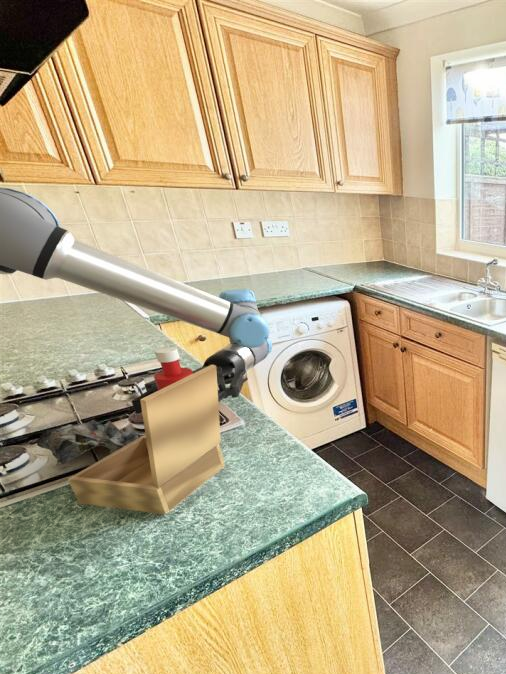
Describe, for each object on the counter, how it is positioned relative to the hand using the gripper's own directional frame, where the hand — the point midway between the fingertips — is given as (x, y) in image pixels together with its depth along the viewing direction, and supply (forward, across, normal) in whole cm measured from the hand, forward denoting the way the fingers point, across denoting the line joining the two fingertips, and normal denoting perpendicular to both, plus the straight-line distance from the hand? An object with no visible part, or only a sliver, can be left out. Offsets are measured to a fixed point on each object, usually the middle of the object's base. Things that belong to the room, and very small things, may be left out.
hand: (166, 407), depth 81 cm
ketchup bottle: (-4, 0, -10) cm, 11 cm away
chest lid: (+12, -11, +4) cm, 17 cm away
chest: (+10, -2, -10) cm, 15 cm away
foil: (+1, +13, -11) cm, 17 cm away
